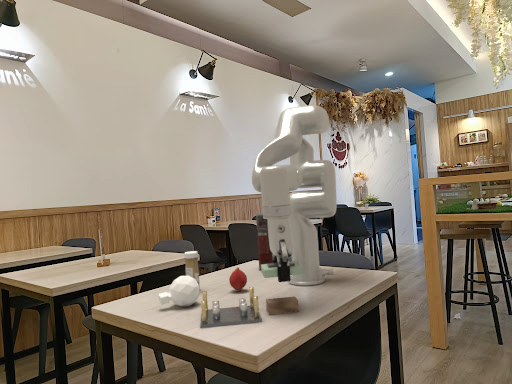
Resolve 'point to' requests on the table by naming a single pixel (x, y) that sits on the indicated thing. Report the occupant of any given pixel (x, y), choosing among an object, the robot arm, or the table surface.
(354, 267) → the table surface
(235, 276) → the onion
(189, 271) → the sprinkles bottle
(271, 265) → the board
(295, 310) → the walnut stand
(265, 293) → the table surface
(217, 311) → the chassis
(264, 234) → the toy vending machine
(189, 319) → the table surface
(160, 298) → the perfume bottle
